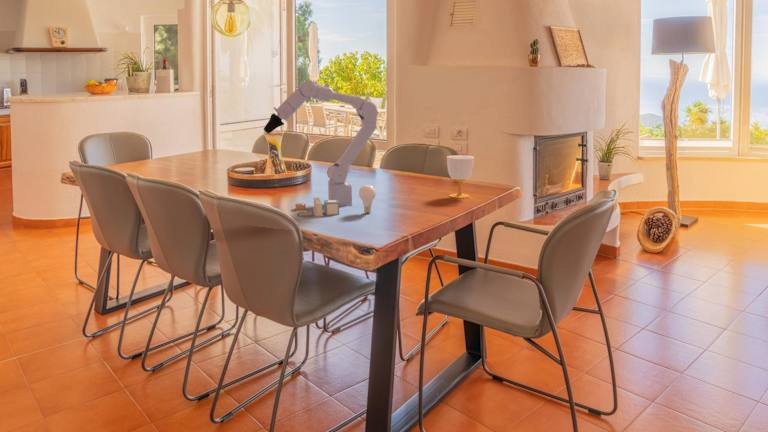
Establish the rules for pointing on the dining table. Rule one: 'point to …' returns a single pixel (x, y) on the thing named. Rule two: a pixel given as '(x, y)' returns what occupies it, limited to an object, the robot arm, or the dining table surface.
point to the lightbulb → (367, 197)
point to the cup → (460, 170)
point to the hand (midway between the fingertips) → (265, 131)
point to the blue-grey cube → (331, 207)
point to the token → (300, 206)
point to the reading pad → (305, 214)
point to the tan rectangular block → (317, 207)
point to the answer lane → (300, 211)
